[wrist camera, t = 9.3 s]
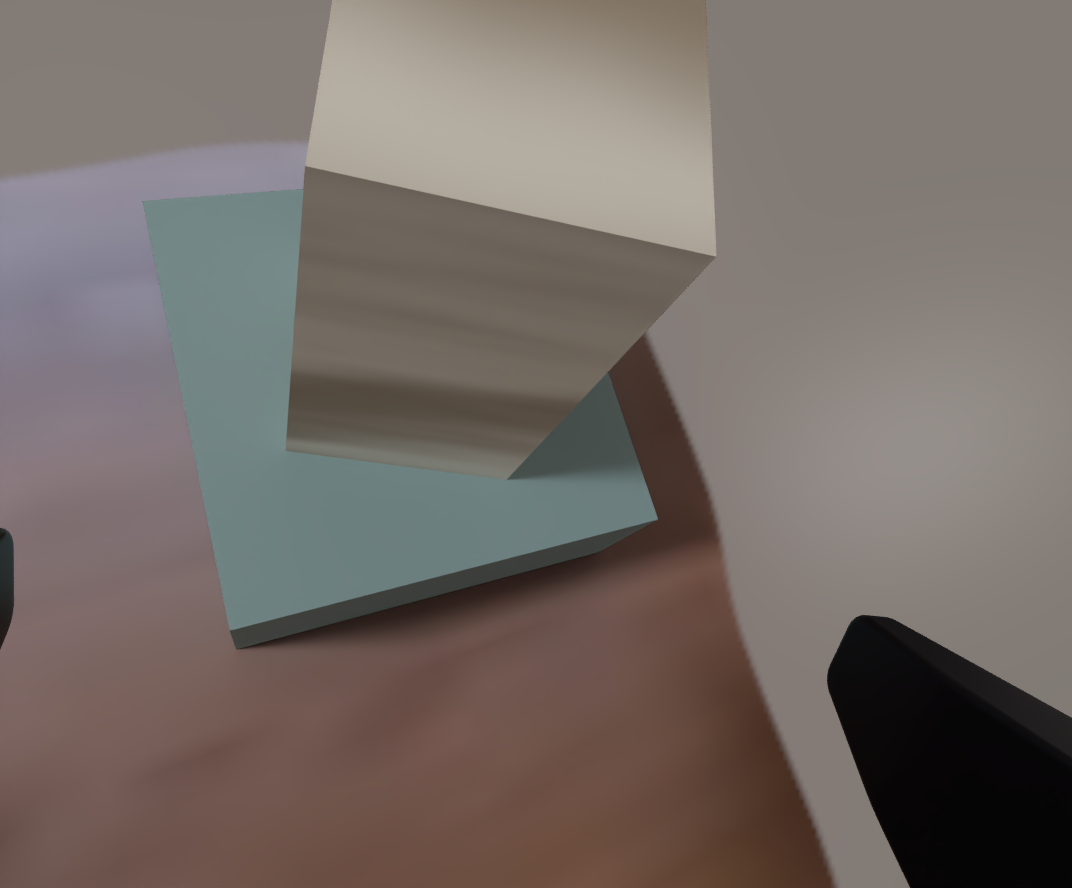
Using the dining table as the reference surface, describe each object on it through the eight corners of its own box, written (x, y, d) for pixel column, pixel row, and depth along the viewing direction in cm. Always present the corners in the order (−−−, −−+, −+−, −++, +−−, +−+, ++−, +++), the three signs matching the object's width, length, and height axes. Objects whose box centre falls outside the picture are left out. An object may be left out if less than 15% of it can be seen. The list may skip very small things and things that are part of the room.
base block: (598, 552, 24) (658, 519, 20) (236, 649, 20) (229, 630, 17) (502, 249, 26) (540, 171, 23) (162, 286, 22) (142, 201, 19)
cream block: (506, 479, 19) (716, 256, 10) (285, 450, 18) (304, 165, 9) (516, 293, 21) (703, -38, 12) (315, 254, 20) (358, -151, 11)
